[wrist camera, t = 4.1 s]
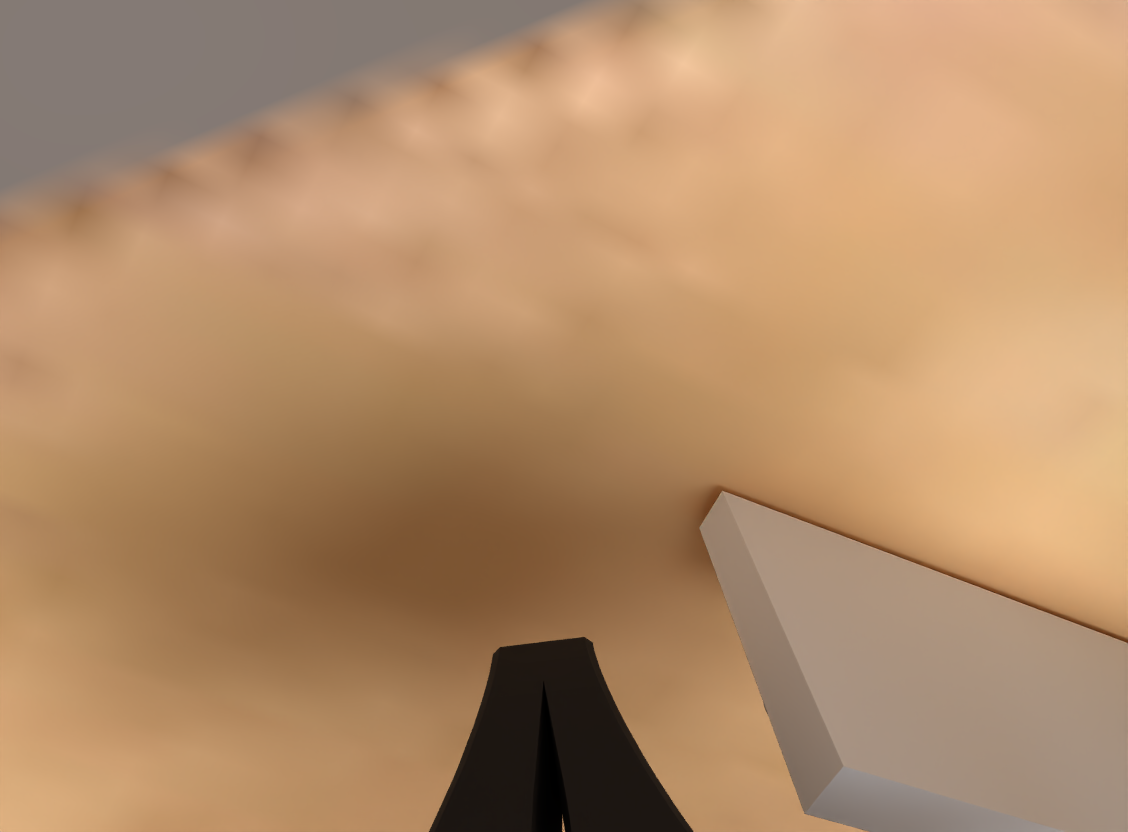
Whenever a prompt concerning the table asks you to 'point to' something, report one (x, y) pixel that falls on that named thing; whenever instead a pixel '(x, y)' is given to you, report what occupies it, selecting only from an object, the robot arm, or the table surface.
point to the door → (920, 687)
